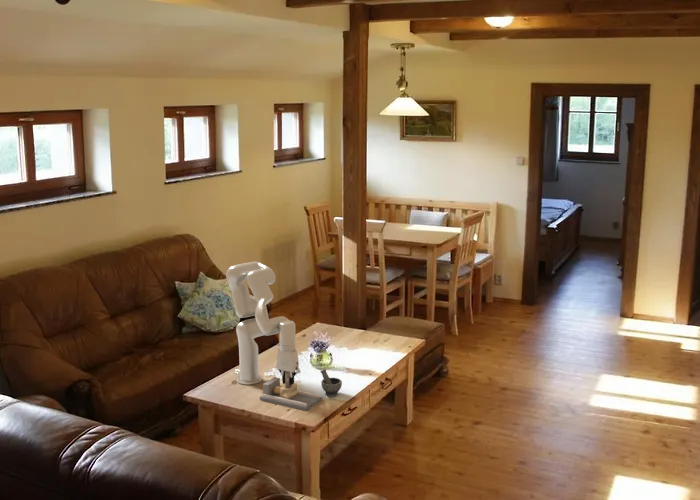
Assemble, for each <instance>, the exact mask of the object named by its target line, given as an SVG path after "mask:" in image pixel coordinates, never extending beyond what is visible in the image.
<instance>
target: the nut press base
mask: <svg viewBox="0 0 700 500" xmlns="http://www.w3.org/2000/svg"><path fill="white" fill-rule="evenodd" d="M282 387H283V386H281V379H280V377H276V376H274V377H272V378H270V379H269V380H267V381H266V382H264V383H263V384H262V395H261V396H259V400H260V401H263V402H266V403H272V404H276V405H279V406H284V407H289V408H292V409H297V410H301V411H304V412H305V411H306V412H307V411H309V410H310V409H312V408H313V407H314V406H316V405H317V404H319V403H321V402H322V401H323V397H322V396H320V395H319V394H315V393H311V392H307V391H301V390H298V389H297V394H296V395H294V396H293V397H291V398H290V399H285V398H281V397H280V388H282Z"/></svg>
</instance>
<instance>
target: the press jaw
mask: <svg viewBox="0 0 700 500" xmlns="http://www.w3.org/2000/svg"><path fill="white" fill-rule="evenodd" d="M289 377H290V372H287V371H285V384H284V386H281V387H282V388H280V397H281V398H285V399H290V398H291V397H293V396H294V395H296V394H297V390H298V384H297V383H295V382H294V384H292V385H289Z"/></svg>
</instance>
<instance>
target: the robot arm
mask: <svg viewBox="0 0 700 500" xmlns="http://www.w3.org/2000/svg"><path fill="white" fill-rule="evenodd" d="M225 275H226V277H225V278H226V281H227V284H228V287H229V290H230V293H231V295H232V296H231V297H232V300H233V306H234V307H233V308H234V310H235V314H236V316H237V317H238V318H241V319H242V318H243V319H245V318H249V317H253V316H254V318H249V319H245V320H242V321H241V322H239V323H238V324H237V325H236V328H235V329H236V330H235V331H236V337H237V341H238V357H239V360H238V361H239V369H237V368H236V369H235V370H234V372H233V374H234V375H237V378H236V381H237V383H238V384H241V385H245V386H246V385H256V384H258V383H261V382H262V380H263V376H262V375H260V372H259V368H260V367H259V346H258V343H257V342H256V341H255V340H254V339H256V338H258V337H262V336H268V337H269V336H272V335H277V334H278V335H279V340H278V341H279V342H278V343H277V346H278V347H279V348H278V349H277V354H276V366H275V369H276V370H277V371H278V372H279V373H280V375H281V378H282V379H281V381H282V384H283V385H285V371H287V372H290V377H289V385H292V384H294V383H295V376H296V375H298V374H300V373H302V372H301V369H300V363H299V361H300V359H299V354H298V351H297V348H296V347H297V346H296V345H297V343H296V341H297V340H296V323H295V322H294V320H290V319H288V318H287V317H286V316H284V315H283V316H276V317H273V318H269V313H268V309H267V308H268V307H267V305H268V304H269V303H270V302H272V300H273V299H274V294H273V292H272V291H271V288H270V285H273V284H274V283H275V282H276V273H275V272H274V270H273V269H272V268H271V267H269V266H267V265H266V264H264V263H261V262H259V261H249V262H244V263H239V264H235V265H231V266H230V267H229V268H228V269H227V270H226V274H225ZM245 281H246V282H247V285H248V286H249V288H248V286H247V285H246V284H245V283H244V282H245ZM249 289H250V290H251V291H250V290H249ZM250 292H251V293H252V296H251V295H250Z"/></svg>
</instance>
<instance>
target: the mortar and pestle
mask: <svg viewBox="0 0 700 500" xmlns="http://www.w3.org/2000/svg"><path fill="white" fill-rule="evenodd" d="M320 373H321V376H322V380H321V382H320V383H321V388H322V389H323V391H324V395H325V396H326V397H328V398H335V397H337V396H339V391H340V390H341V388H342V385H343V381H342V379H340V378H337V377H330V376H329V374H328V372H327V369H325V368H324V369H321V370H320Z"/></svg>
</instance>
